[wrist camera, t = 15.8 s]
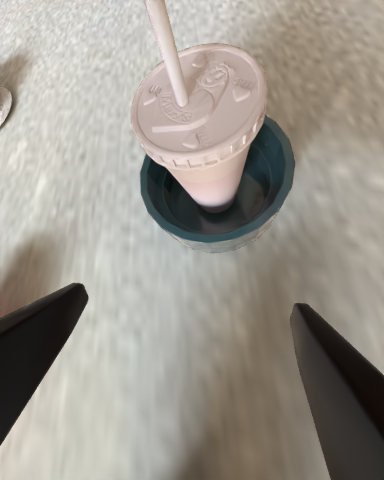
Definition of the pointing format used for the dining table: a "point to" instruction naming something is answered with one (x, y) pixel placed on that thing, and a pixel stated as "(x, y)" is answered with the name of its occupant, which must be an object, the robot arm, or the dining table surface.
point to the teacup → (4, 103)
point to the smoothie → (200, 113)
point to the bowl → (243, 208)
